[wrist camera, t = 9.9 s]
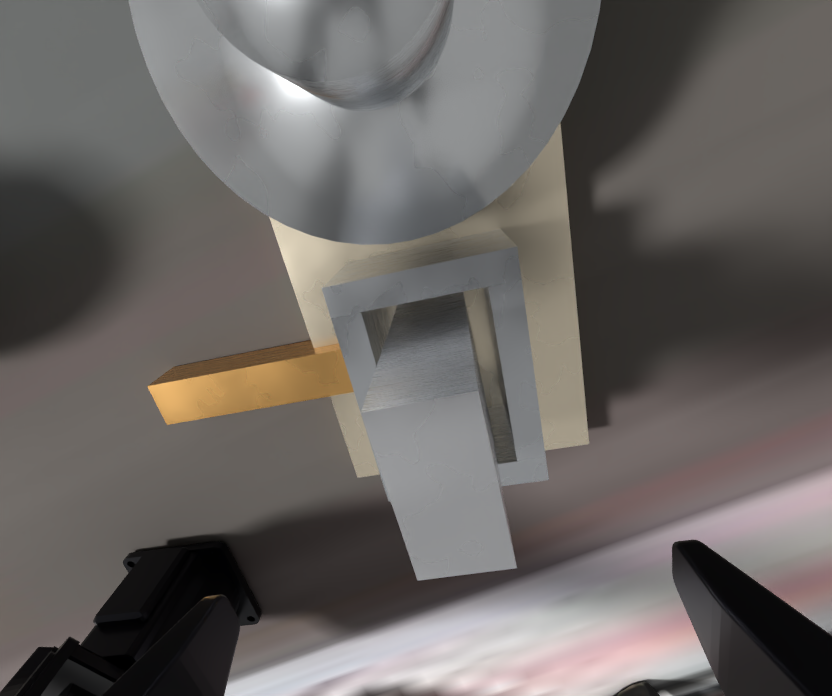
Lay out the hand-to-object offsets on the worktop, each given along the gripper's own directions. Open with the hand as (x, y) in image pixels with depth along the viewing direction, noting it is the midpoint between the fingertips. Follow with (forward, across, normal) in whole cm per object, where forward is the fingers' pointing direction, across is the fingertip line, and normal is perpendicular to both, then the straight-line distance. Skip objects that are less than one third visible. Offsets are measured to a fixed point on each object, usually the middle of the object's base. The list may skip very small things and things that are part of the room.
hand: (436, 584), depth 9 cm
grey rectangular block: (+11, 0, -1) cm, 11 cm away
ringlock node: (+12, +3, -6) cm, 14 cm away
